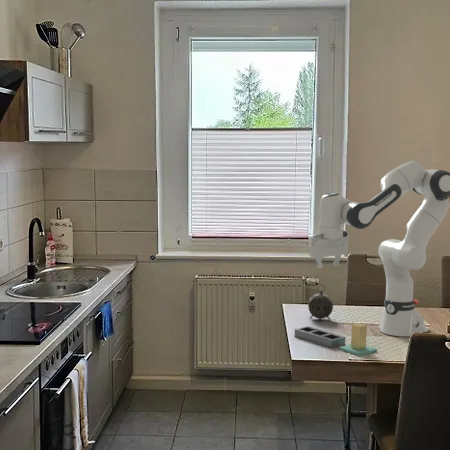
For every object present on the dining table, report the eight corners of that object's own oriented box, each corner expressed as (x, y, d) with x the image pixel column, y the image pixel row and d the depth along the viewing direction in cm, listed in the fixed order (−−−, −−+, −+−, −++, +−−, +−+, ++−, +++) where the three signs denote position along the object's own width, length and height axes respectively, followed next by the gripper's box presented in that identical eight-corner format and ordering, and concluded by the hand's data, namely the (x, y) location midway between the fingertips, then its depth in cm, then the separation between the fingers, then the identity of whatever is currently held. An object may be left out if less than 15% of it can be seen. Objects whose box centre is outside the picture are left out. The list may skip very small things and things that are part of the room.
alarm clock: (331, 319, 293) (333, 284, 291) (332, 322, 288) (334, 286, 286) (307, 318, 294) (308, 283, 292) (308, 321, 289) (309, 285, 287)
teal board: (356, 345, 254) (356, 342, 254) (376, 351, 247) (376, 348, 247) (339, 349, 248) (339, 347, 248) (360, 356, 240) (360, 353, 240)
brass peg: (357, 345, 250) (358, 323, 249) (365, 348, 247) (366, 325, 246) (350, 347, 248) (351, 324, 246) (359, 350, 244) (360, 327, 243)
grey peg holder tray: (307, 333, 270) (308, 326, 270) (345, 344, 255) (345, 337, 254) (294, 336, 265) (294, 329, 264) (331, 348, 250) (332, 340, 249)
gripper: (318, 236, 251) (316, 270, 252) (351, 232, 264) (350, 265, 266) (306, 234, 256) (304, 268, 257) (339, 230, 269) (338, 263, 270)
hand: (328, 267), depth 262 cm, fingers open, 8 cm apart
